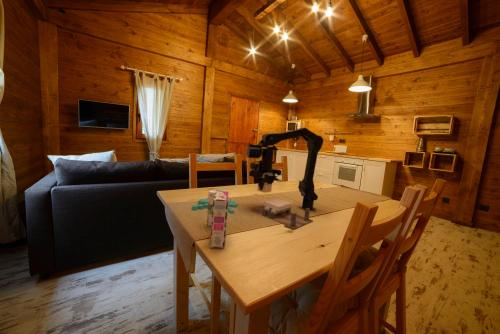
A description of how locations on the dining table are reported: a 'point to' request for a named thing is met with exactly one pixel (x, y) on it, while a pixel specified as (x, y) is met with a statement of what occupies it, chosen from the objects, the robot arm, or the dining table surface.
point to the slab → (277, 204)
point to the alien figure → (204, 204)
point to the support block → (265, 188)
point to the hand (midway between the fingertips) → (264, 189)
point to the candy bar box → (219, 220)
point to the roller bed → (284, 216)
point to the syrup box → (211, 205)
